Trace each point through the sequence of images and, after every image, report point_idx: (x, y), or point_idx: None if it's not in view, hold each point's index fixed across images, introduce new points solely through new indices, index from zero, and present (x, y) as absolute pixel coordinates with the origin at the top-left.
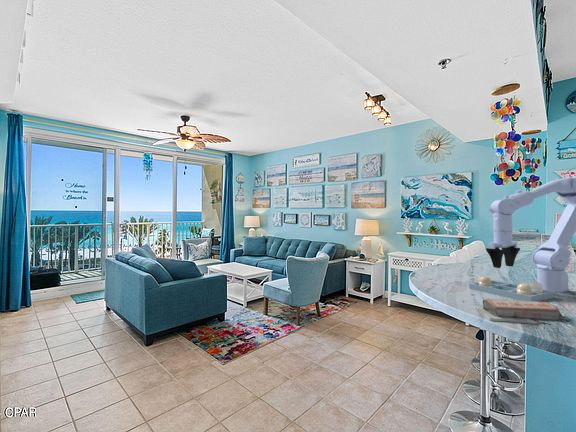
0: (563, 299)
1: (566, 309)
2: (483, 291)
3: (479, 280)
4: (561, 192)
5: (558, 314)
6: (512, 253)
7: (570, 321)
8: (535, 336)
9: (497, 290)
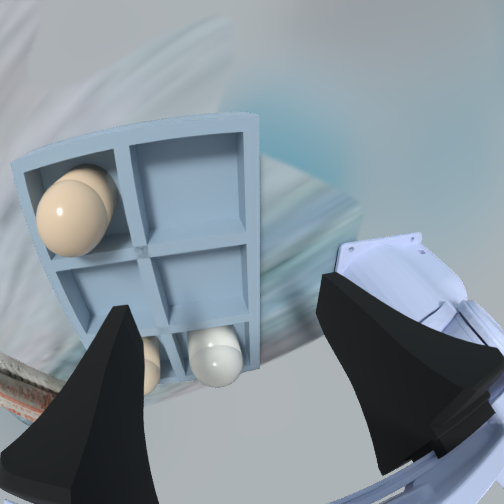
0: (295, 337)
1: (182, 389)
2: None
3: (37, 210)
4: None
5: None
6: (376, 412)
7: None
8: (11, 412)
9: (63, 304)
